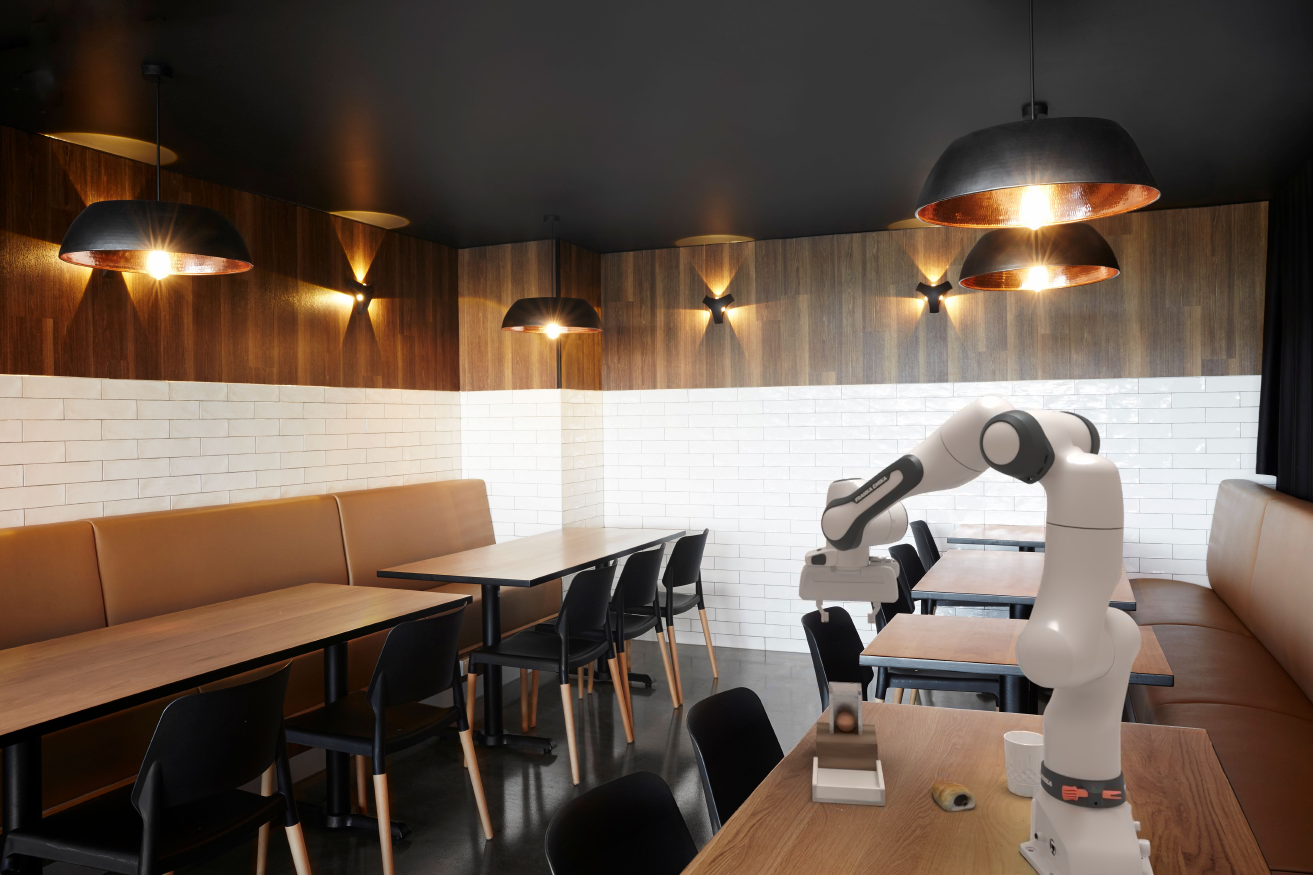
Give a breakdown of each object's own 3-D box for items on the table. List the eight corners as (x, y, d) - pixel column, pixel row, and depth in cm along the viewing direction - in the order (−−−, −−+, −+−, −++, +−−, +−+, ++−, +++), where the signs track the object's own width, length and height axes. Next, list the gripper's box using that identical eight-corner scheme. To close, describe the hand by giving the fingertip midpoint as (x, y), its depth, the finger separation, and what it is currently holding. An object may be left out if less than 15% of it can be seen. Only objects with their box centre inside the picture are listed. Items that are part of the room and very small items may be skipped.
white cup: (1056, 789, 167) (1055, 736, 167) (1041, 802, 161) (1040, 747, 161) (1014, 779, 172) (1013, 727, 172) (997, 791, 166) (997, 738, 166)
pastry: (922, 792, 167) (922, 772, 167) (955, 790, 168) (955, 770, 168) (946, 813, 158) (945, 792, 158) (981, 810, 159) (981, 789, 159)
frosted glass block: (862, 734, 181) (861, 691, 181) (829, 733, 182) (828, 689, 182) (861, 725, 187) (860, 682, 187) (829, 724, 188) (829, 681, 188)
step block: (878, 774, 176) (877, 744, 176) (816, 770, 178) (816, 741, 178) (875, 752, 187) (874, 724, 187) (817, 749, 190) (816, 721, 190)
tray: (885, 805, 161) (885, 789, 161) (812, 801, 163) (812, 785, 163) (880, 775, 175) (880, 760, 175) (813, 771, 178) (813, 756, 178)
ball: (856, 734, 181) (855, 715, 181) (836, 733, 182) (835, 714, 182) (855, 728, 185) (855, 709, 185) (836, 727, 186) (835, 708, 186)
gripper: (898, 554, 185) (898, 620, 185) (799, 552, 189) (799, 617, 189) (900, 559, 179) (900, 627, 179) (798, 557, 183) (798, 623, 183)
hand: (848, 622), depth 184 cm, fingers open, 8 cm apart
